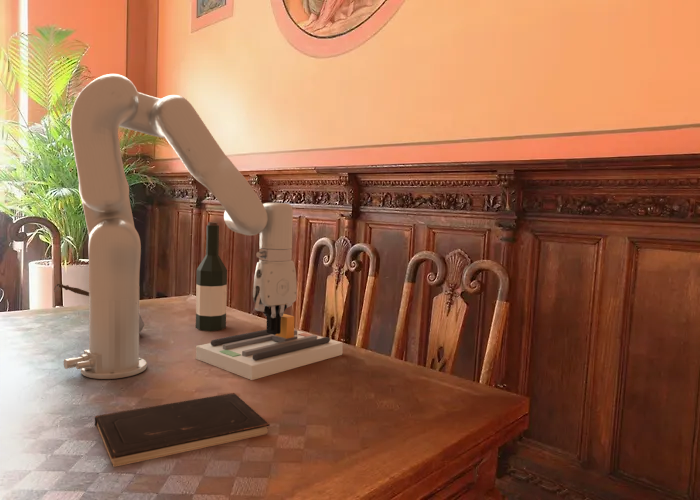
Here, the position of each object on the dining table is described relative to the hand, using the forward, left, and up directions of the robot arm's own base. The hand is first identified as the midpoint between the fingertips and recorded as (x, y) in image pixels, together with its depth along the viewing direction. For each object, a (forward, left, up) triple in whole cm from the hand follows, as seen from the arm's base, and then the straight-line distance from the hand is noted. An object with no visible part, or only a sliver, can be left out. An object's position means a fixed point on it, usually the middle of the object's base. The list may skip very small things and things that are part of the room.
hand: (273, 333), depth 126 cm
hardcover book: (-37, -21, -6) cm, 43 cm away
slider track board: (0, 0, -6) cm, 6 cm away
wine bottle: (+6, +33, -6) cm, 34 cm away
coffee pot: (-22, +40, -6) cm, 46 cm away
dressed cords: (0, 0, -3) cm, 3 cm away
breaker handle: (+4, 0, -2) cm, 4 cm away
